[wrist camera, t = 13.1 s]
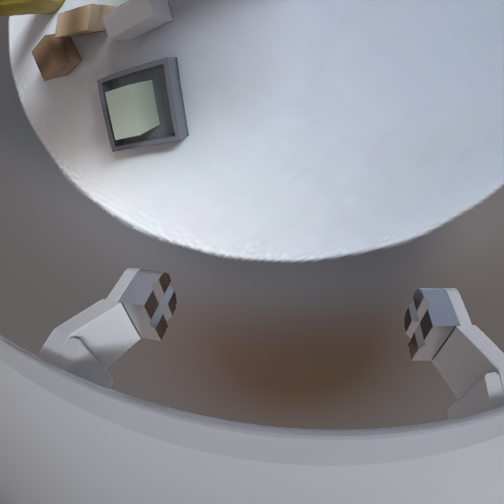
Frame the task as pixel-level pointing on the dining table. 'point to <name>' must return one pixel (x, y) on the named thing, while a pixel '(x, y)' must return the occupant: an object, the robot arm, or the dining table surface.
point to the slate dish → (166, 101)
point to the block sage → (132, 109)
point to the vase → (28, 7)
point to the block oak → (82, 20)
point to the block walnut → (56, 56)
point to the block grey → (136, 18)
